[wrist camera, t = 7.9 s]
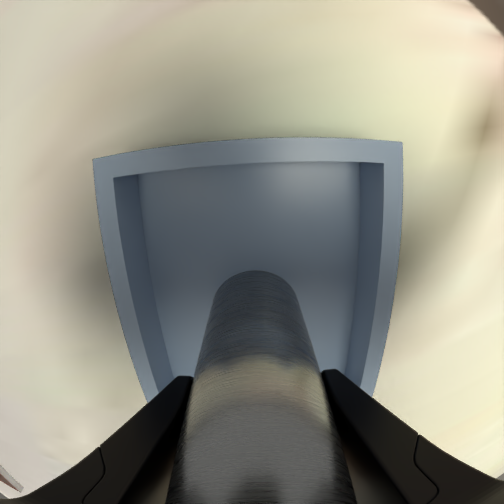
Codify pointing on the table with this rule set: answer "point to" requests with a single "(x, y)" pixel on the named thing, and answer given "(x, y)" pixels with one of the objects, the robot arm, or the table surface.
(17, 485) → the picture frame
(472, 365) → the table surface
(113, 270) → the tray
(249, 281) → the pin
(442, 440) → the table surface
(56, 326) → the table surface
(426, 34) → the table surface
